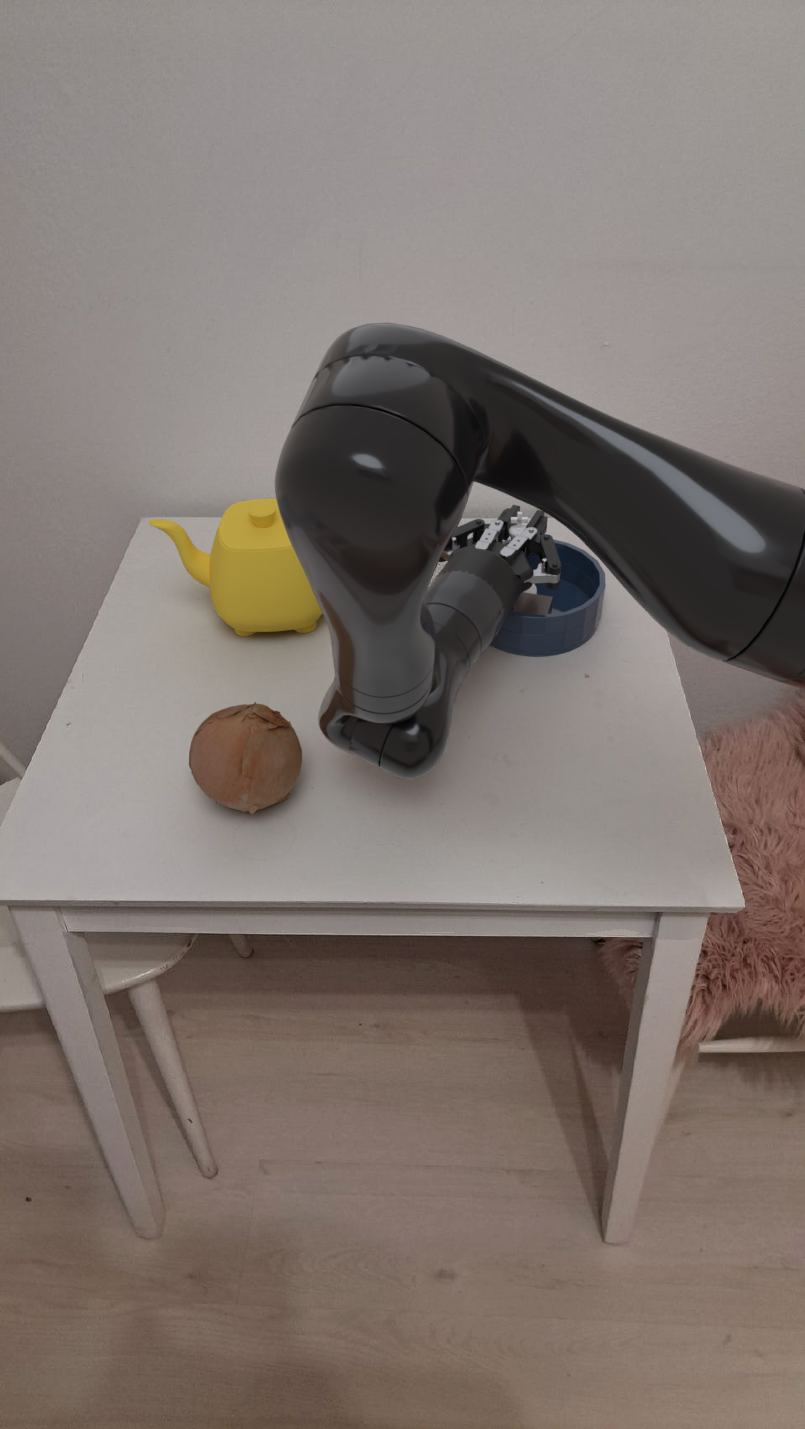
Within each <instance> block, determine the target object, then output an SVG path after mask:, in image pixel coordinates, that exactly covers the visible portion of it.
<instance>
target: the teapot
mask: <svg viewBox="0 0 805 1429" xmlns="http://www.w3.org/2000/svg"><path fill="white" fill-rule="evenodd" d="M147 524H148V525H150V526H151V527H153V528H156V529H158V530H160V531H162V532H164V533H165V534H166V535H167V536H168V537H169V538H170V539H171V540H172V542H173V543H174V545H175V547H176V550H177V552H178V555H179V557H180V560H181V563H182V565H183V567H184V568H185V570H186V572H187V573H188V574H189V576H191V578H192V579H193V580H195V581H196V582H198V583H199V584H200V585H203V586H205V587H208V588H209V595H210V599H211V603H212V605H213V608H214V610H215V612H216V613H217V615H218V616H219V617H220V619H221V620H222V621H223V622H224V623H225V624H227V626H229V627H231V628H233V629H234V630H233V631H234V633H235V634H236V635H238V636H241V637H248V636H249V637H250V636H252V635H254V634H256V633H269V632H270V633H271V632H282V631H283V632H284V631H285V632H286V631H292V630H293V631H296V632H297V633H299V634H300V633H301V634H307V633H310V632H312V631H314V630H315V629H316V628H317V626H318V623H317V621H318V620H319V619H320V617H321V616H323V613H322V611H321V609H320V606H319V604H318V602H317V600H316V598H315V596H314V594H313V591H312V589H311V586H310V584H309V582H308V579H307V577H306V575H305V573H304V570H303V568H302V566H301V564H300V562H299V560H298V558H297V556H296V553H295V551H294V549H293V547H292V545H291V543H290V540H289V538H288V535H287V533H286V530H285V528H284V525H283V522H282V519H281V516H280V513H279V509H278V505H277V500H276V497H275V498H256V499H248V500H247V499H246V500H241V501H237V502H235V503H233V504H230V506H229V507H228V508H227V509H226V510H225V512H224V513H223V514H222V517H221V518H220V521H219V524H218V526H217V530H216V533H215V536H214V539H213V542H212V546H211V551H210V553H207V552H205V551H203V550H201V549H199V548H198V547H197V546H195V544H194V543H193V541H192V540H191V538H190V536H189V535H188V533H187V531H186V529H184V528H183V526H182V525H180V524H178V523H177V522H175V521H172V520H168V519H159V518H158V519H151V520H149V521H148V522H147Z"/></svg>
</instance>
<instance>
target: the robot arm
mask: <svg viewBox="0 0 805 1429" xmlns="http://www.w3.org/2000/svg"><path fill="white" fill-rule="evenodd" d="M474 483H478V484H481V485H483V486H486V487H487V488H491V489H493V490H496V491H498V492H501V493H502V494H505V495H507V496H510V497H512V498H514V499H515V500H518V501H520V502H523V503H525V504H528V505H530V506H532V507H534V508H536V511H535V513H534V514H533V515H532V517H531V518H530V520H528V523H526V525H525V526H526V529H525V530H524V531H523V532H522V534H521V535H516V536H515V537H514V539H513V540H512V541H511V542H510V543H509V544H503V543H502V541H505V540H506V541H507V540H509V539H510V538H511V537H510V535H509V528H510V527H511V526H513V525H517V523H511V517H517V512H521V506H520V505H517V504H512V505H511V506H510V508H508V507H507V508H505V509H503V510H502V512H501V513H500V515H499V516H498V517H497V518H496V519H493V520H492V521H491V522H490V523H486V521H485V519H481V518H476V519H472V520H471V521H468V522H466V523H464V524H460V523H461V520H462V518H463V516H464V513H465V510H466V507H467V504H468V501H469V499H470V495H471V492H472V490H473V486H474ZM274 493H275V498H276V500H277V505H278V509H279V513H280V516H281V519H282V522H283V525H284V528H285V530H286V533H287V535H288V538H289V540H290V543H291V545H292V547H293V549H294V551H295V553H296V556H297V558H298V560H299V562H300V564H301V566H302V568H303V570H304V573H305V575H306V577H307V579H308V582H309V584H310V586H311V589H312V591H313V594H314V596H315V598H316V600H317V602H318V604H319V606H320V609H321V611H322V616H323V618H324V620H325V623H326V625H327V628H328V631H329V637H330V645H331V654H332V662H333V671H334V677H333V681H332V683H331V684H330V685H329V687H328V689H327V691H326V692H325V694H324V696H323V699H322V702H321V704H320V707H319V710H318V717H317V722H318V727H319V730H320V732H321V734H322V736H324V738H325V740H327V741H328V742H329V743H330V744H332V746H334V747H336V748H337V749H339V750H341V751H343V752H345V753H348V754H349V755H352V756H354V757H355V758H358V759H360V760H361V761H364V762H366V763H368V764H370V765H372V766H374V767H376V768H379V769H380V770H381V771H384V772H386V773H388V774H391V775H393V776H394V777H398V778H399V779H400V778H401V779H404V780H415V779H418V778H421V777H423V776H425V775H427V774H429V772H431V771H432V770H434V769H435V767H436V766H437V765H438V764H439V762H440V761H441V760H442V757H443V755H444V753H445V751H446V747H447V744H448V740H449V737H450V732H451V726H452V719H453V712H454V708H455V704H456V699H457V696H458V693H459V691H460V689H461V686H462V684H463V682H464V681H465V679H466V678H467V676H468V674H469V673H470V671H471V670H472V668H473V666H474V665H475V663H476V662H477V660H478V659H479V657H480V656H481V655H482V654H483V653H484V652H485V651H486V650H487V648H488V647H489V646H491V645H490V643H491V642H492V640H493V639H494V637H495V636H496V635H497V634H498V633H499V631H500V629H501V626H502V624H503V623H504V621H505V620H506V618H507V616H508V615H509V613H510V612H511V610H512V609H513V607H514V605H515V604H516V602H517V600H518V598H519V596H520V594H521V593H523V592H524V591H526V590H528V589H530V588H531V586H532V584H533V583H546V586H547V588H548V589H551V590H556V589H558V588H559V583H560V574H561V562H560V559H559V556H558V553H557V550H556V547H555V544H554V540H555V539H554V538H553V536H552V535H551V534H547V530H548V519H549V518H548V516H550V517H551V518H553V519H555V520H556V521H557V522H559V524H562V525H563V526H564V527H566V528H567V529H568V530H569V531H570V532H571V533H573V535H575V536H576V537H577V538H578V539H580V540H581V542H582V543H583V544H584V545H586V547H587V548H588V549H589V550H590V551H591V552H592V553H593V554H594V555H595V556H596V557H597V558H598V559H599V560H600V561H601V563H602V564H603V565H604V566H605V568H607V570H608V571H609V572H610V573H611V574H612V575H613V577H615V579H616V580H617V581H618V582H619V583H620V584H621V586H622V587H623V588H624V589H625V591H627V593H628V594H629V595H630V596H631V597H632V598H633V599H634V600H635V601H636V602H637V603H638V605H639V606H640V607H641V608H643V610H644V611H645V612H646V613H647V614H648V615H649V616H650V618H652V619H653V620H654V621H655V622H656V623H657V624H658V625H659V626H660V627H662V629H663V630H665V631H666V632H668V634H670V636H672V637H674V638H675V639H676V640H677V641H678V642H680V643H682V644H683V645H684V646H686V647H687V648H690V650H693V651H695V652H697V653H698V654H701V655H703V656H707V657H709V658H712V659H714V660H717V661H721V662H723V663H725V664H728V665H731V666H734V667H737V668H739V669H742V670H744V671H748V672H751V673H752V674H756V675H759V676H761V677H764V678H767V679H769V680H773V681H775V682H778V683H781V684H783V685H784V684H785V685H787V686H791V687H794V688H799V689H804V690H805V488H803V487H800V486H798V485H795V484H792V483H790V482H789V483H788V482H786V481H782V480H779V479H776V478H772V477H770V476H767V475H764V474H760V473H758V472H754V471H751V470H748V469H746V468H743V467H739V466H737V465H734V464H731V463H729V462H726V461H723V460H722V459H721V460H720V459H719V458H715V457H713V456H710V455H708V454H706V453H703V452H701V451H698V450H695V449H694V448H691V447H688V446H686V445H683V444H681V443H678V442H676V441H673V440H671V439H668V438H666V437H663V436H661V435H658V434H656V433H654V432H651V431H648V430H646V429H644V428H641V427H638V426H635V425H633V424H631V423H629V422H627V421H624V420H622V419H619V418H617V417H615V416H612V415H610V414H608V413H605V412H603V411H601V410H599V409H597V408H594V407H593V406H591V405H588V404H587V403H584V402H582V401H580V400H578V399H576V398H574V397H572V396H570V395H568V394H566V393H564V392H562V391H560V390H558V389H556V388H553V387H551V386H550V385H548V384H545V383H544V382H542V381H540V380H538V379H536V378H534V377H531V375H527V374H526V373H524V372H521V371H520V370H518V369H516V368H513V367H512V366H509V365H507V364H506V363H503V362H502V361H499V360H498V359H496V358H493V357H491V356H489V355H487V354H485V353H483V352H481V351H479V350H477V349H475V348H472V347H470V346H468V345H465V344H463V343H461V342H459V341H456V340H454V339H452V338H449V337H447V336H444V335H442V334H439V333H437V332H434V331H431V330H428V329H424V328H421V327H417V326H412V325H407V324H402V323H401V324H400V323H395V322H372V323H365V324H361V325H357V326H355V327H352V328H349V329H348V330H346V331H344V332H343V333H341V334H340V335H339V336H337V337H336V338H335V339H334V341H333V342H332V343H331V344H330V346H329V347H328V349H327V350H326V352H325V354H324V356H323V357H322V359H321V361H320V363H319V365H318V367H317V369H316V372H314V375H313V377H312V380H311V382H310V385H309V387H308V389H307V391H306V393H305V396H304V398H303V400H302V402H301V404H300V407H299V408H298V411H297V413H296V416H295V418H294V419H293V422H292V425H291V427H290V430H289V432H288V434H287V436H286V438H285V439H284V443H283V445H282V448H281V451H280V454H279V458H278V462H277V465H276V469H275V474H274ZM545 514H547V515H548V516H545ZM469 535H472V537H469ZM553 539H554V540H553ZM534 553H535V554H537V555H539V556H538V559H539V562H540V564H538V568H537V569H535V570H533V569H532V567H531V565H530V563H529V561H528V560H529V559H530V558H531V557H532V556H533V554H534ZM444 562H446V563H445V565H444V566H443V567H442V569H441V570H440V571H439V572H438V574H437V575H436V577H435V578H434V579H433V576H434V574H435V572H436V569H437V567H438V564H439V563H444ZM432 579H433V580H432Z"/></svg>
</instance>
